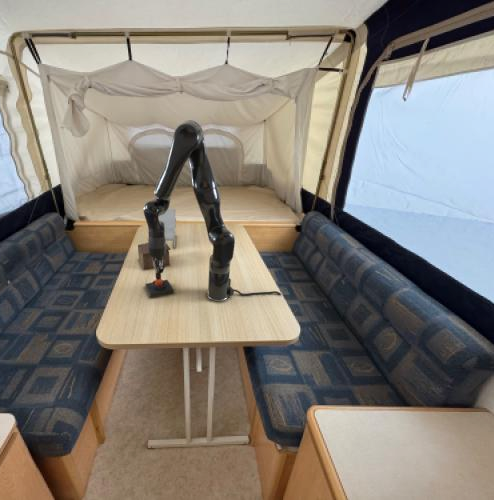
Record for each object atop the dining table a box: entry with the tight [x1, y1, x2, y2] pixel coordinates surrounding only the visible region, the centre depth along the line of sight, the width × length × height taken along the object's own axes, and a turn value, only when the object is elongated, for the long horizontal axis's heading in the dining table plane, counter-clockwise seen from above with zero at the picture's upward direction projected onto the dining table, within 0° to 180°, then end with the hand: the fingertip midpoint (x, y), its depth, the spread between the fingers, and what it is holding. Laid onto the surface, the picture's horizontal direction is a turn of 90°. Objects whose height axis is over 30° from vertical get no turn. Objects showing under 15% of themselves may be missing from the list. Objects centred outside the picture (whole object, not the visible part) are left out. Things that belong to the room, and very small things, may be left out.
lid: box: [137, 242, 171, 255], centre depth 147 cm, size 15×13×5 cm
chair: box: [158, 208, 177, 249], centre depth 174 cm, size 13×25×20 cm, turn 1°
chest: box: [137, 246, 170, 271], centre depth 150 cm, size 15×13×9 cm
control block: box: [144, 279, 174, 299], centre depth 126 cm, size 11×9×4 cm
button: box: [154, 278, 164, 286], centre depth 125 cm, size 4×4×2 cm
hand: (158, 278), depth 124 cm, fingers closed
